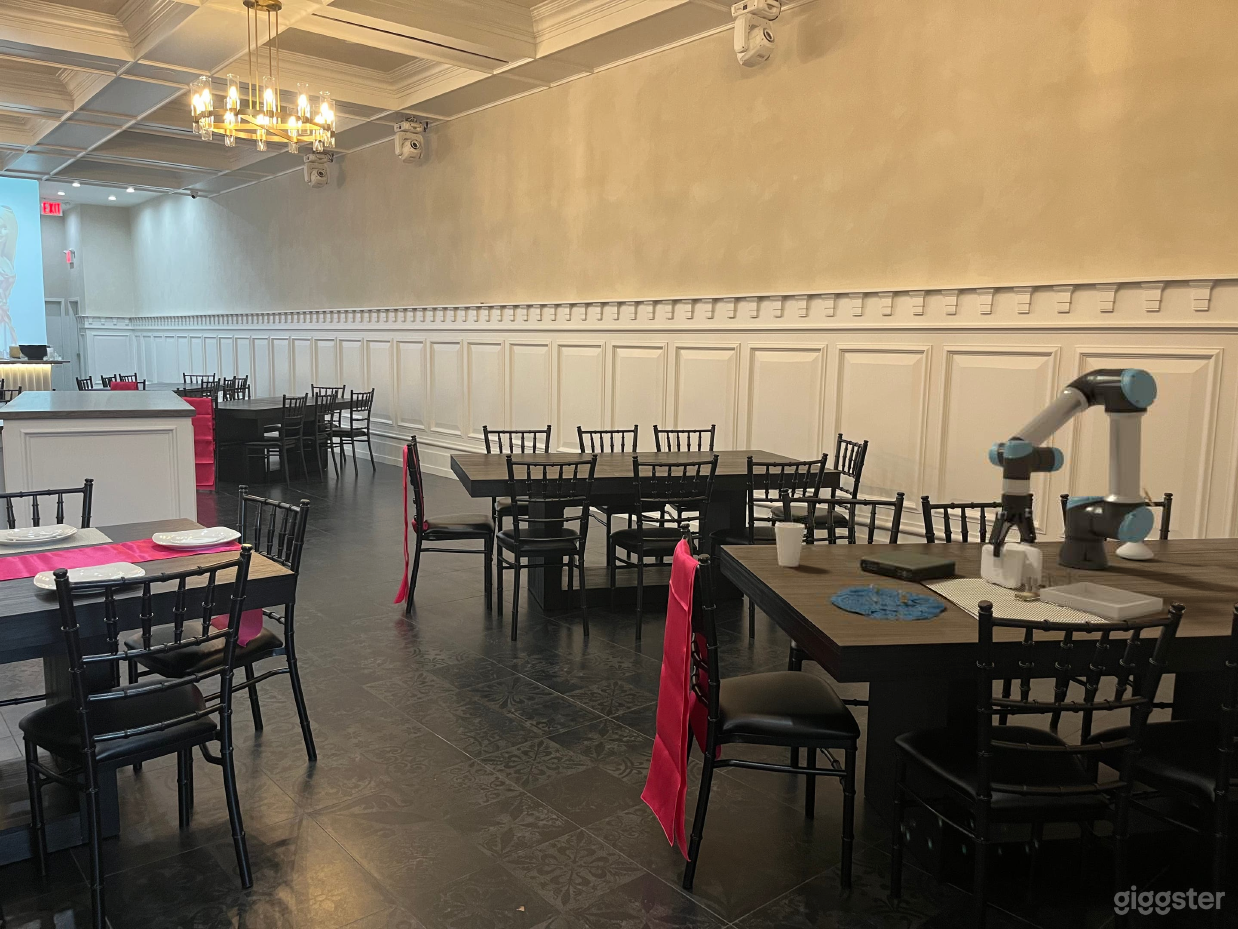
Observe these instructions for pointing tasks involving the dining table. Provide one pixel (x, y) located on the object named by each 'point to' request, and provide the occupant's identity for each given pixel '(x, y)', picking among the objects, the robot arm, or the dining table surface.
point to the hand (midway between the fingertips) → (1011, 566)
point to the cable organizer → (1012, 565)
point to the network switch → (908, 565)
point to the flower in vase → (1138, 548)
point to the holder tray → (1102, 600)
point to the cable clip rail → (1036, 593)
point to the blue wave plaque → (887, 603)
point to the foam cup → (789, 543)
